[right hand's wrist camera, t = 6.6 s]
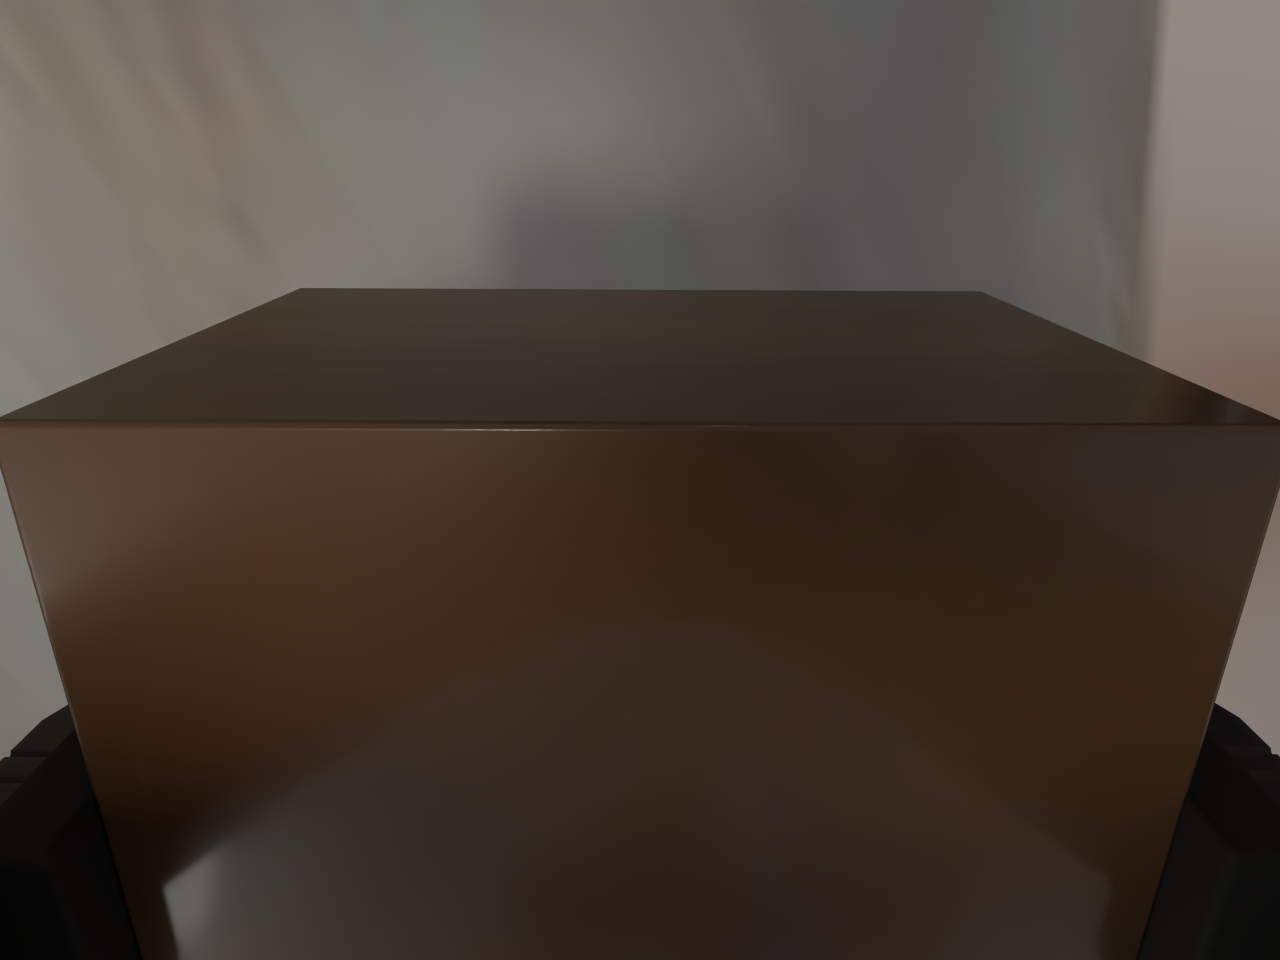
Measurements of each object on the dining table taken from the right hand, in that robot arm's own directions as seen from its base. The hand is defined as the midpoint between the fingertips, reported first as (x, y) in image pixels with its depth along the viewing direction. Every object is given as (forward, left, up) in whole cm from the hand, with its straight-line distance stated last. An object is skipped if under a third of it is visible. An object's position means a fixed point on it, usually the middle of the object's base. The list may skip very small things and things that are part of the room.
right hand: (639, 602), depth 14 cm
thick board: (+14, +15, -1) cm, 21 cm away
